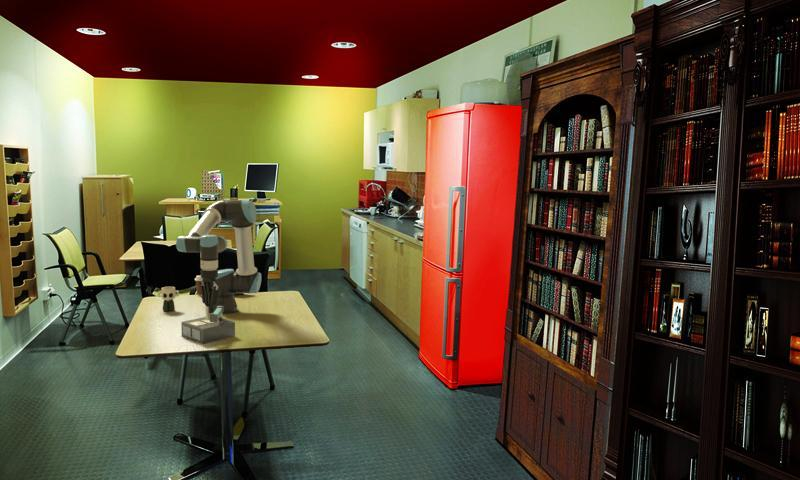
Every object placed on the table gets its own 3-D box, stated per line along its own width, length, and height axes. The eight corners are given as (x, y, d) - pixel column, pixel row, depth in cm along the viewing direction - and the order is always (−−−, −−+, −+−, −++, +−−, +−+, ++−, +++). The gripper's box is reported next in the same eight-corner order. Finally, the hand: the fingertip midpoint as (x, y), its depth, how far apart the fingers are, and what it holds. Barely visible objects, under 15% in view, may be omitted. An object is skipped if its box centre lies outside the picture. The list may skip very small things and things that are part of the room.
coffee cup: (191, 295, 354) (191, 276, 352) (201, 292, 362) (201, 274, 361) (203, 296, 350) (203, 277, 349) (213, 294, 359) (212, 275, 358)
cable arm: (217, 311, 272) (217, 305, 272) (224, 311, 273) (224, 305, 272) (209, 322, 253) (209, 315, 253) (217, 321, 254) (217, 315, 254)
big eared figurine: (157, 312, 308) (157, 289, 307) (158, 309, 315) (158, 286, 314) (178, 311, 312) (178, 288, 310) (179, 308, 318) (179, 286, 317)
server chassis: (181, 336, 266) (180, 315, 264) (213, 329, 279) (213, 308, 278) (202, 344, 254) (202, 322, 253) (234, 336, 268) (234, 315, 267)
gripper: (193, 268, 256) (194, 318, 259) (210, 271, 248) (210, 323, 251) (208, 266, 262) (208, 315, 265) (224, 270, 254) (224, 320, 257)
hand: (209, 319), depth 258 cm, fingers closed
